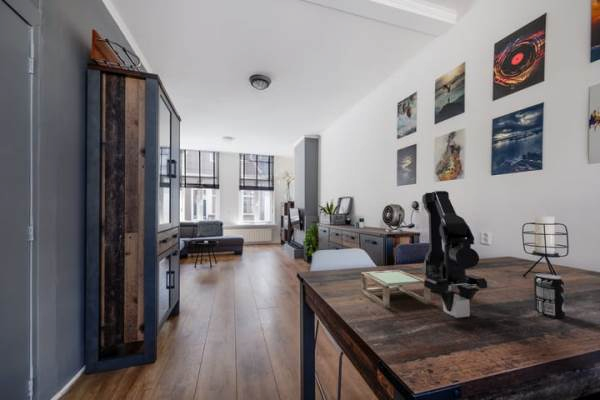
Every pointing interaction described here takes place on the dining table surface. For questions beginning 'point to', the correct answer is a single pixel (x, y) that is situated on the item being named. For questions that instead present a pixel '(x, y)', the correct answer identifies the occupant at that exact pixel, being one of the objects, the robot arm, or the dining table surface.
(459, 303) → the plain light gray cube
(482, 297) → the dining table surface
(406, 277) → the trapdoor
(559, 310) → the beverage can
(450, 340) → the dining table surface
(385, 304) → the trapdoor frame
